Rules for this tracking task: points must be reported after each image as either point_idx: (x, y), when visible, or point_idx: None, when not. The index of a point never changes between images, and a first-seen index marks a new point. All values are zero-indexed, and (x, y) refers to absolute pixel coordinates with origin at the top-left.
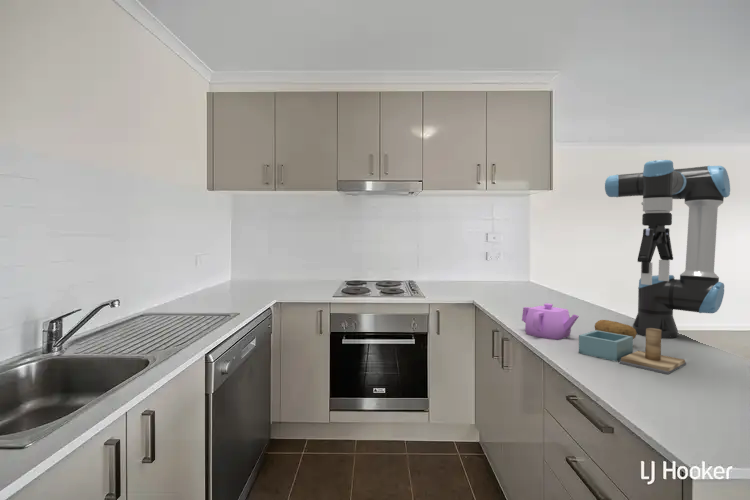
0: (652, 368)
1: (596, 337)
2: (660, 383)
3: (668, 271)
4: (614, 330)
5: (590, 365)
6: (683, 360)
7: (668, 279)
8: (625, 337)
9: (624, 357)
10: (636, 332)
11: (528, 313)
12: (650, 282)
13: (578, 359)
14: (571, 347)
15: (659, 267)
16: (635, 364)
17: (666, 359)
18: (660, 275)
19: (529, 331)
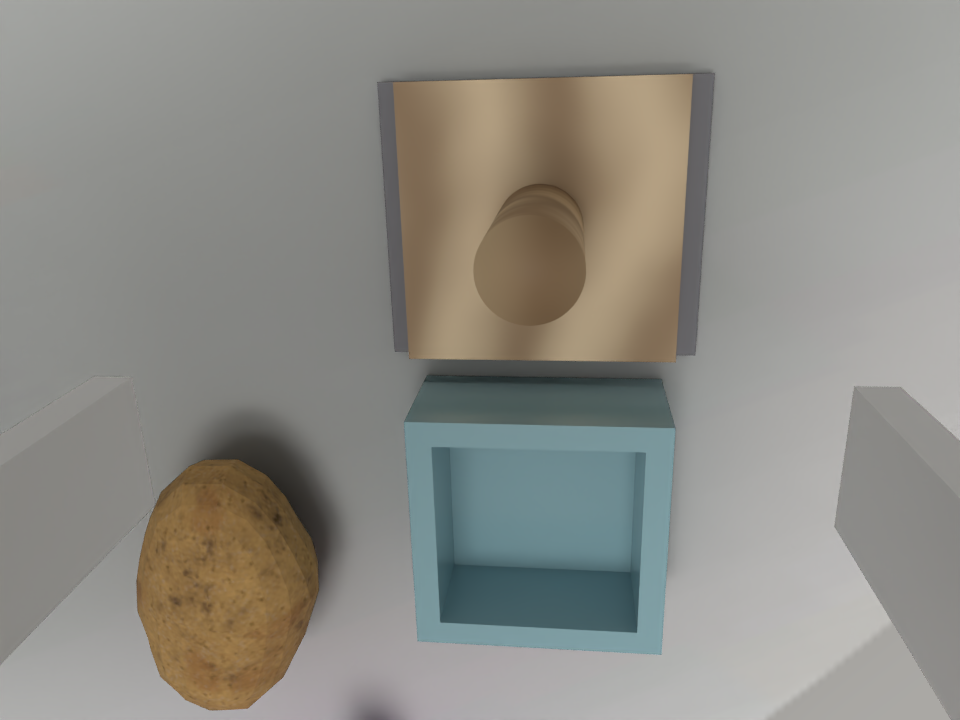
0: (697, 169)
1: (465, 598)
2: (954, 29)
3: (25, 447)
4: (293, 571)
5: None
6: (419, 82)
7: (107, 386)
8: (474, 445)
9: (652, 351)
10: (188, 470)
11: None
12: (915, 411)
13: (789, 530)
14: (558, 650)
15: (15, 633)
16: (686, 270)
17: (486, 164)
18: (107, 523)
19: None
